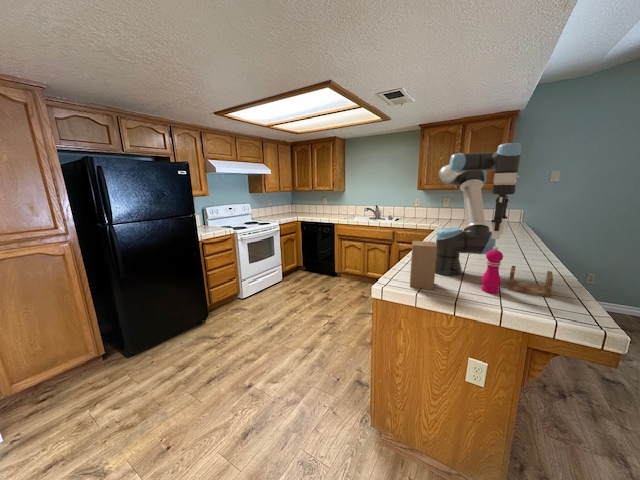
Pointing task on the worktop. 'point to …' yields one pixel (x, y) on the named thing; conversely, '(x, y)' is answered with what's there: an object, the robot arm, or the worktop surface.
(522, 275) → the worktop surface
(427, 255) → the wooden block
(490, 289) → the pepper mill
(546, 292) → the holder
